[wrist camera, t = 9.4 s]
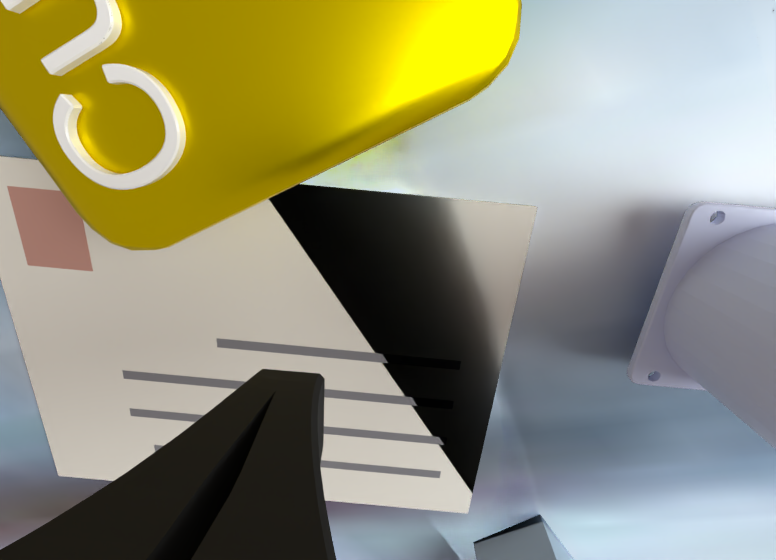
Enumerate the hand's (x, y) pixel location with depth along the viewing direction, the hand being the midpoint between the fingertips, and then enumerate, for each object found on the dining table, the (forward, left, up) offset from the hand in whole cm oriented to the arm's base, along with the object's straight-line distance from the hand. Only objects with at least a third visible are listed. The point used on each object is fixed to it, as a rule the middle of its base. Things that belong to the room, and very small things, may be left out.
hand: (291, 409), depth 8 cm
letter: (+4, +6, -10) cm, 12 cm away
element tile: (+5, -11, -10) cm, 15 cm away
